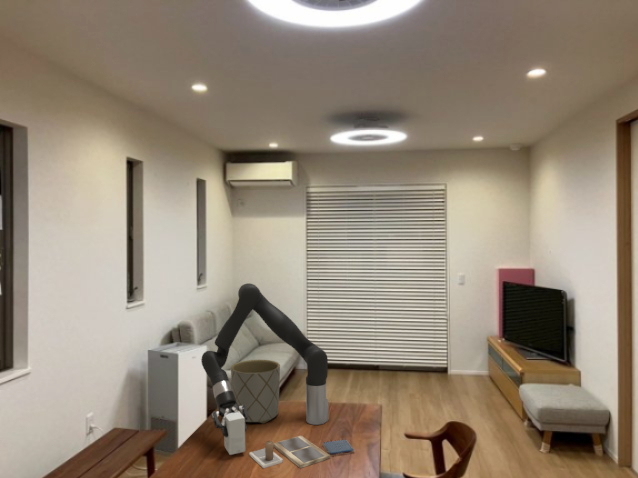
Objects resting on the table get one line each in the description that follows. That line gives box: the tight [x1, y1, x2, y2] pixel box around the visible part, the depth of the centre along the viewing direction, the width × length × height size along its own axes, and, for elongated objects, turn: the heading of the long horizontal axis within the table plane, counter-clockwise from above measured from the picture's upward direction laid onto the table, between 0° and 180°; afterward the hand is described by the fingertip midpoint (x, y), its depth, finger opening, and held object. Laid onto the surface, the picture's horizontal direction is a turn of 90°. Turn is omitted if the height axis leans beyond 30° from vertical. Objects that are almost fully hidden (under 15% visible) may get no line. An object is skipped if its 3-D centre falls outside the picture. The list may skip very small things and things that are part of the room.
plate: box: [248, 440, 284, 469], centre depth 173 cm, size 8×12×7 cm, turn 33°
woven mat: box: [322, 438, 355, 457], centre depth 181 cm, size 10×11×2 cm
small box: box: [223, 411, 246, 456], centre depth 178 cm, size 8×6×13 cm
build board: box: [273, 435, 331, 469], centre depth 178 cm, size 13×21×1 cm, turn 33°
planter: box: [230, 359, 281, 424], centre depth 215 cm, size 23×23×24 cm
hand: (236, 433), depth 177 cm, fingers closed on small box, 6 cm apart
